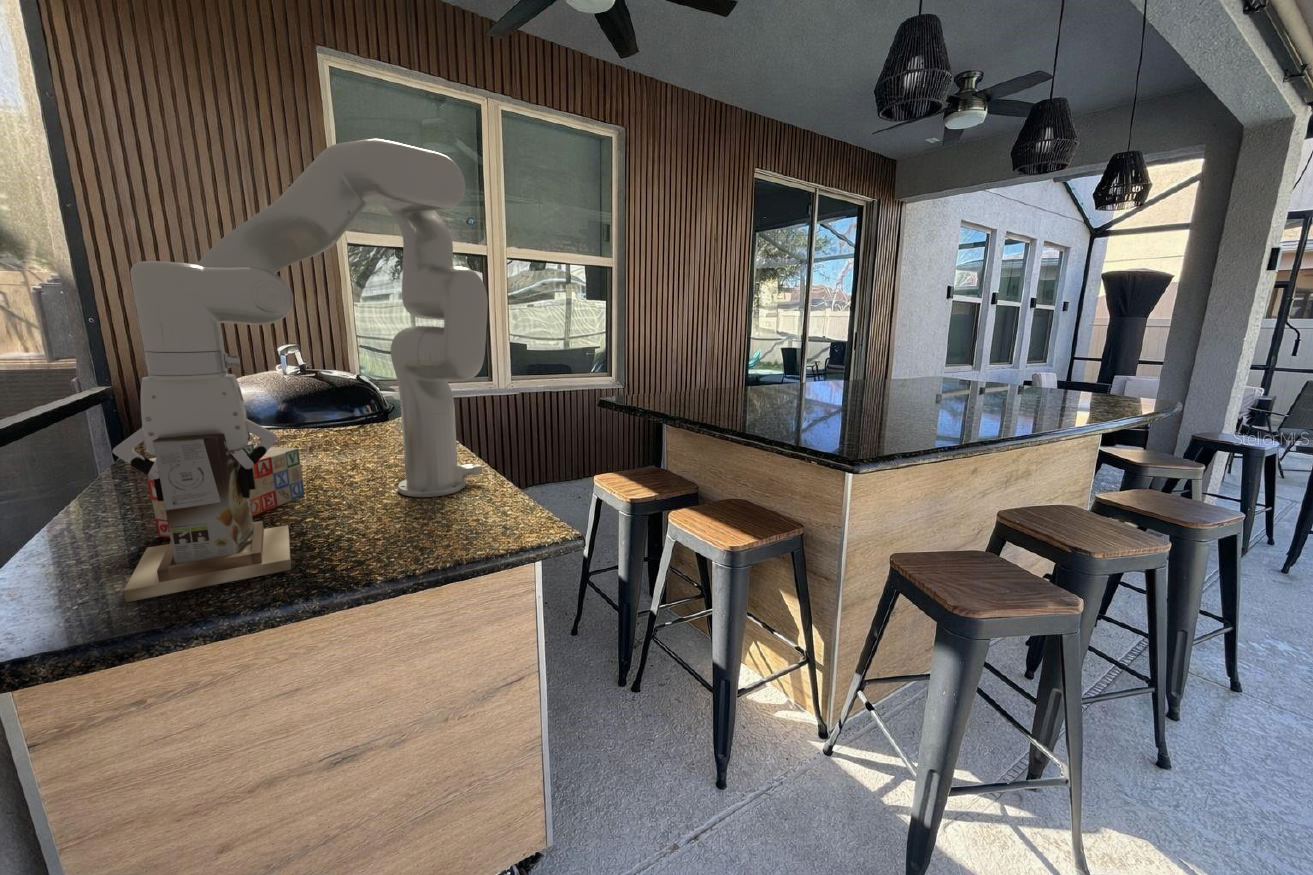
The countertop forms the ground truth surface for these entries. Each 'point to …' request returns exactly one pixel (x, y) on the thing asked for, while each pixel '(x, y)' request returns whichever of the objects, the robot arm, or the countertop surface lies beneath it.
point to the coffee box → (202, 497)
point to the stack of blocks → (273, 484)
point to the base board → (210, 565)
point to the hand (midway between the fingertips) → (209, 499)
